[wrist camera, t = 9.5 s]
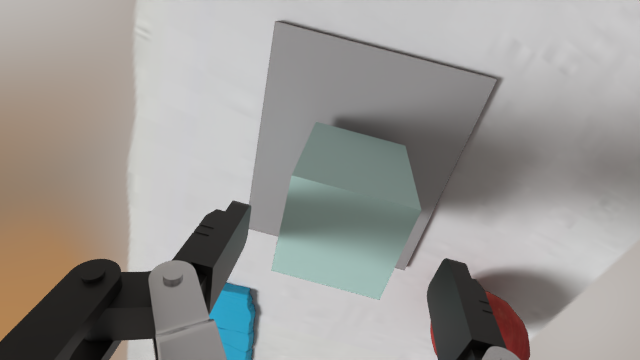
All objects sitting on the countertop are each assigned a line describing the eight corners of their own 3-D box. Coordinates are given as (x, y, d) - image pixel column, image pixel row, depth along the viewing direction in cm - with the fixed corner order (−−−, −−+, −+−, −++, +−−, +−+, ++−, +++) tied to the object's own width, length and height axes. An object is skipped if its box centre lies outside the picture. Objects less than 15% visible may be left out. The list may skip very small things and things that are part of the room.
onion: (523, 287, 24) (586, 405, 17) (468, 329, 27) (503, 445, 20) (458, 251, 23) (496, 358, 16) (408, 297, 26) (422, 407, 19)
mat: (277, 21, 18) (275, 21, 17) (494, 78, 18) (496, 79, 17) (247, 224, 24) (245, 227, 24) (403, 266, 24) (404, 270, 24)
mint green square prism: (315, 121, 19) (291, 175, 13) (405, 145, 18) (421, 210, 13) (298, 197, 21) (271, 270, 15) (376, 218, 21) (379, 299, 15)
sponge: (272, 301, 27) (201, 286, 26) (247, 379, 33) (188, 368, 32) (275, 287, 29) (207, 272, 28) (250, 364, 34) (194, 353, 34)
